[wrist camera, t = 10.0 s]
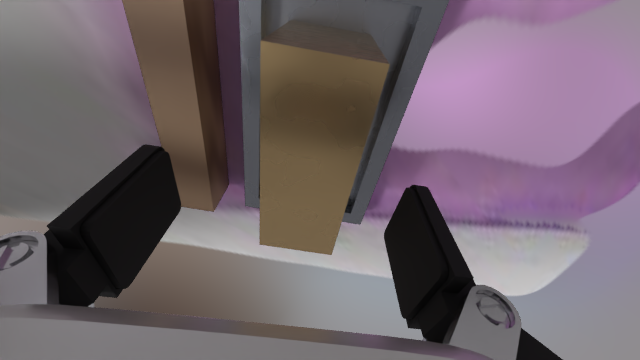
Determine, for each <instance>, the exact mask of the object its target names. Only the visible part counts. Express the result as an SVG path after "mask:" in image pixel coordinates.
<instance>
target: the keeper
mask: <svg viewBox="0 0 640 360" xmlns="http://www.w3.org/2000/svg"><path fill="white" fill-rule="evenodd" d="M448 2H449V0H239V24H240V55H241V86H242V118H243V149H244V180H245V206H249V207H255V208H260V52H261V40H262V39H264V38H265V37H267V36H268V35H269V34H271V33H272V32H274V31H275V30H277V29H278V28H280V27H281V26H283V25H284V24H286V23H287V22H289V21H290V20H296V21H301V22H306V23H311V24H317V25H322V26H327V27H333V28H338V29H343V30H349V31H354V32H359V33H364V34H370V35H371V36H372V37H373V39H374V40H375V42H376V44H377V45H378V47H379V48H380V50H381V51H382V53H383V54H384V56H385V58H386V59H387V61H388V62H389V64H390V66H389V69H388V72H387V76H386V79H385V82H384V85H383V89H382V92H381V95H380V98H379V102H378V105H377V108H376V111H375V115H374V118H373V121H372V124H371V128H370V131H369V134H368V137H367V141H366V144H365V147H364V150H363V154H362V157H361V160H360V163H359V167H358V170H357V173H356V176H355V180H354V183H353V186H352V189H351V193H350V196H349V199H348V202H347V206H346V209H345V212H344V215H343V219H342V222H348V223H354V224H361V221H362V219H363V216H364V214H365V211H366V209H367V206H368V204H369V201H370V199H371V196H372V194H373V191H374V189H375V186H376V184H377V181H378V179H379V176H380V174H381V171H382V169H383V166H384V163H385V161H386V158H387V156H388V153H389V151H390V148H391V146H392V143H393V141H394V138H395V136H396V133H397V131H398V128H399V126H400V123H401V121H402V118H403V116H404V113H405V111H406V108H407V105H408V103H409V100H410V98H411V95H412V93H413V90H414V87H415V85H416V83H417V80H418V78H419V75H420V73H421V70H422V68H423V65H424V62H425V60H426V58H427V55H428V53H429V50H430V48H431V45H432V43H433V40H434V37H435V35H436V32H437V30H438V27H439V25H440V22H441V20H442V17H443V15H444V12H445V10H446V7H447V5H448Z"/></svg>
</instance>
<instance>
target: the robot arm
mask: <svg viewBox="0 0 640 360" xmlns="http://www.w3.org/2000/svg"><path fill="white" fill-rule="evenodd" d="M180 209H181V200H180V196H179V192H178V188H177V184H176V180H175V176H174V172H173V167H172V163H171V159H170V155H169V153H168V152H166V151H165V150H164V148H162V147H159V146H152V145H143V146H141V147H140V148H139V149H138V150H137V151H135V152H134V153H133V154H132V155H131V156H129V157H128V158H127V159H126V160H125V161H123V162H122V163H121V164H120V165H119V166H117V167H116V168H115V169H114V170H113V171H112V172H110V173H109V174H108V175H107V176H106V177H104V178H103V179H102V180H101V181H100V182H98V183H97V184H96V185H95V186H94V187H92V188H91V189H90V190H89V191H88V192H87V193H85V194H84V195H83V196H82V197H81V198H79V199H78V200H77V201H76V202H75V203H73V204H72V205H71V206H70V207H69V208H67V209H66V210H65V211H64V212H63V213H62V214H60V215H59V216H58V217H57V218H56V219H54V220H53V221H52V222H51V223H50V224H48V225H47V227H48V228H49V230H48V231H47V232H46V233H45V234H44V235H43V234H42V233H40V232H36V231H19V232H14V233H9V234H6V235H3V236H0V360H562V359H561V358H560V357H558V356H557V355H556V354H554V353H553V352H552V351H551V350H549V349H548V348H547V347H545V346H544V345H543V344H541V343H540V342H539V341H538V340H536V339H535V338H534V337H532V336H531V335H530V334H528V333H527V332H526V331H524V330H523V329H522V328H521V319H520V316H519V314H518V312H517V310H516V308H515V307H514V305H513V304H512V303H511V302H510V301H509V300H508V299H507V298H506V297H505V296H504V295H503V294H501V293H500V292H499V291H497V290H495V289H493V288H491V287H488V286H485V285H476V284H475V282H474V280H473V276H472V274H471V272H470V270H469V268H468V266H467V264H466V262H465V260H464V258H463V256H462V254H461V252H460V250H459V248H458V246H457V244H456V242H455V240H454V238H453V236H452V234H451V232H450V230H449V228H448V226H447V224H446V222H445V220H444V218H443V216H442V214H441V212H440V210H439V208H438V206H437V204H436V202H435V200H434V198H433V196H432V194H431V193H430V191H429V189H428V187H424V186H418V185H412V186H411V187H410V188H406V189H405V191H404V193H403V195H402V197H401V199H400V201H399V203H398V205H397V207H396V209H395V211H394V214H393V216H392V218H391V220H390V222H389V224H388V226H387V228H386V230H385V233H384V240H385V244H386V248H387V253H388V257H389V262H390V266H391V271H392V275H393V280H394V283H395V289H396V293H397V298H398V302H399V307H400V311H401V314H402V317H403V318H405V319H406V321H407V325H408V328H414V329H421V331H422V335H423V337H424V338H423V340H422V341H421V340H413V339H404V338H397V337H388V336H381V335H370V334H362V333H352V332H343V331H333V330H323V329H314V328H304V327H294V326H285V325H274V324H264V323H254V322H245V321H235V320H224V319H214V318H204V317H194V316H183V315H173V314H162V313H151V312H141V311H130V310H120V309H108V308H95V307H94V302H95V300H96V299H97V298H98V296H104V297H114V298H117V297H118V296H119V294H120V293H121V291H122V290H123V289H126V288H127V287H129V286H130V284H131V283H132V282H133V280H134V279H135V277H136V276H137V274H138V273H139V271H140V270H141V268H142V266H143V265H144V264H145V262H146V261H147V259H148V258H149V256H150V255H151V253H152V252H153V250H154V249H155V247H156V246H157V244H158V243H159V241H160V240H161V238H162V237H163V235H164V234H165V232H166V231H167V229H168V228H169V226H170V225H171V224H172V222H173V221H174V219H175V218H176V216H177V215H178V213H179V211H180Z"/></svg>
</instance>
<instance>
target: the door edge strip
mask: <svg viewBox="0 0 640 360" xmlns="http://www.w3.org/2000/svg"><path fill="white" fill-rule="evenodd" d="M122 2H123V5H124V9H125V13H126V17H127V20H128V24H129V28H130V31H131V35H132V39H133V43H134V46H135V50H136V54H137V57H138V61H139V65H140V68H141V72H142V76H143V80H144V83H145V87H146V91H147V94H148V98H149V102H150V106H151V109H152V113H153V117H154V120H155V124H156V128H157V132H158V135H159V139H160V143H161V146H162V148H164V150H165V151H166V152H168V153H169V155H170V159H171V163H172V167H173V172H174V176H175V180H176V184H177V188H178V192H179V196H180V200H181V207H187V208H193V209H199V210H206V211H212V212H214V210H215V209H216V207H217V205H218V203H219V202H220V200H221V198H222V196H223V194H224V193H225V191H226V189H227V187H228V185H229V181H228V169H227V157H226V145H225V133H224V121H223V109H222V97H221V85H220V73H219V61H218V49H217V37H216V25H215V13H214V1H213V0H122Z"/></svg>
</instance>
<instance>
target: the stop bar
mask: <svg viewBox="0 0 640 360" xmlns="http://www.w3.org/2000/svg"><path fill="white" fill-rule="evenodd" d="M389 66H390V64H389V62H388V61H387V59H386V58H385V56H384V54H383V53H382V51H381V50H380V48H379V47H378V45H377V44H376V42H375V40H374V39H373V37H372V36H371V35H370V34H364V33H359V32H354V31H349V30H343V29H338V28H333V27H327V26H322V25H317V24H311V23H306V22H301V21H296V20H290V21H289V22H287V23H286V24H284V25H283V26H281V27H280V28H278V29H277V30H275V31H274V32H272V33H271V34H269V35H268V36H267V37H265V38H264V39H262V40H261V52H260V245H267V246H274V247H281V248H288V249H294V250H301V251H308V252H315V253H322V254H328V255H332V251H333V248H334V245H335V242H336V238H337V235H338V232H339V228H340V225H341V222H342V219H343V215H344V212H345V209H346V206H347V202H348V199H349V196H350V193H351V189H352V186H353V183H354V180H355V176H356V173H357V170H358V167H359V163H360V160H361V157H362V154H363V150H364V147H365V144H366V141H367V137H368V134H369V131H370V128H371V124H372V121H373V118H374V115H375V111H376V108H377V105H378V102H379V98H380V95H381V92H382V89H383V85H384V82H385V79H386V76H387V72H388V69H389Z"/></svg>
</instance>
